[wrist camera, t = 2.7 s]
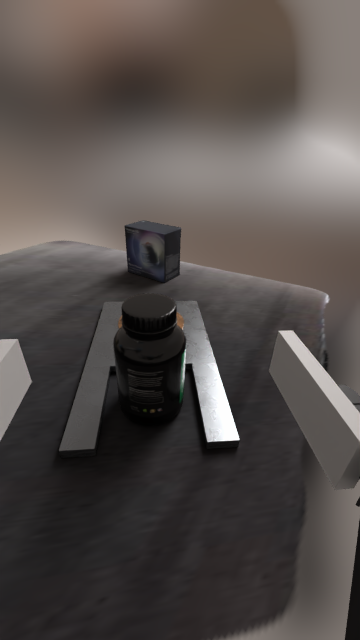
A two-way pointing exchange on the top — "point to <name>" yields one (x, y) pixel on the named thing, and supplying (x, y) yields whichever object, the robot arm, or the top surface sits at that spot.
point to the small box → (153, 250)
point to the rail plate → (101, 363)
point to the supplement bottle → (150, 359)
